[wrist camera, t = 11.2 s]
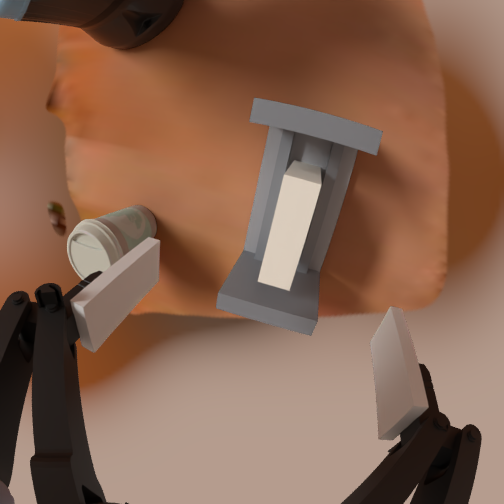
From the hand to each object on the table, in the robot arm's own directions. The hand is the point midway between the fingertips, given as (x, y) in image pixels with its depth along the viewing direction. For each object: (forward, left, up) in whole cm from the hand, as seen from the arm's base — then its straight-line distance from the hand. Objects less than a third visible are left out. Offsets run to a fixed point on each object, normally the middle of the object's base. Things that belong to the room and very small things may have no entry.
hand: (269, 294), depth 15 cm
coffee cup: (+9, -21, -21) cm, 31 cm away
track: (0, 0, -21) cm, 21 cm away
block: (+1, 0, -20) cm, 20 cm away
